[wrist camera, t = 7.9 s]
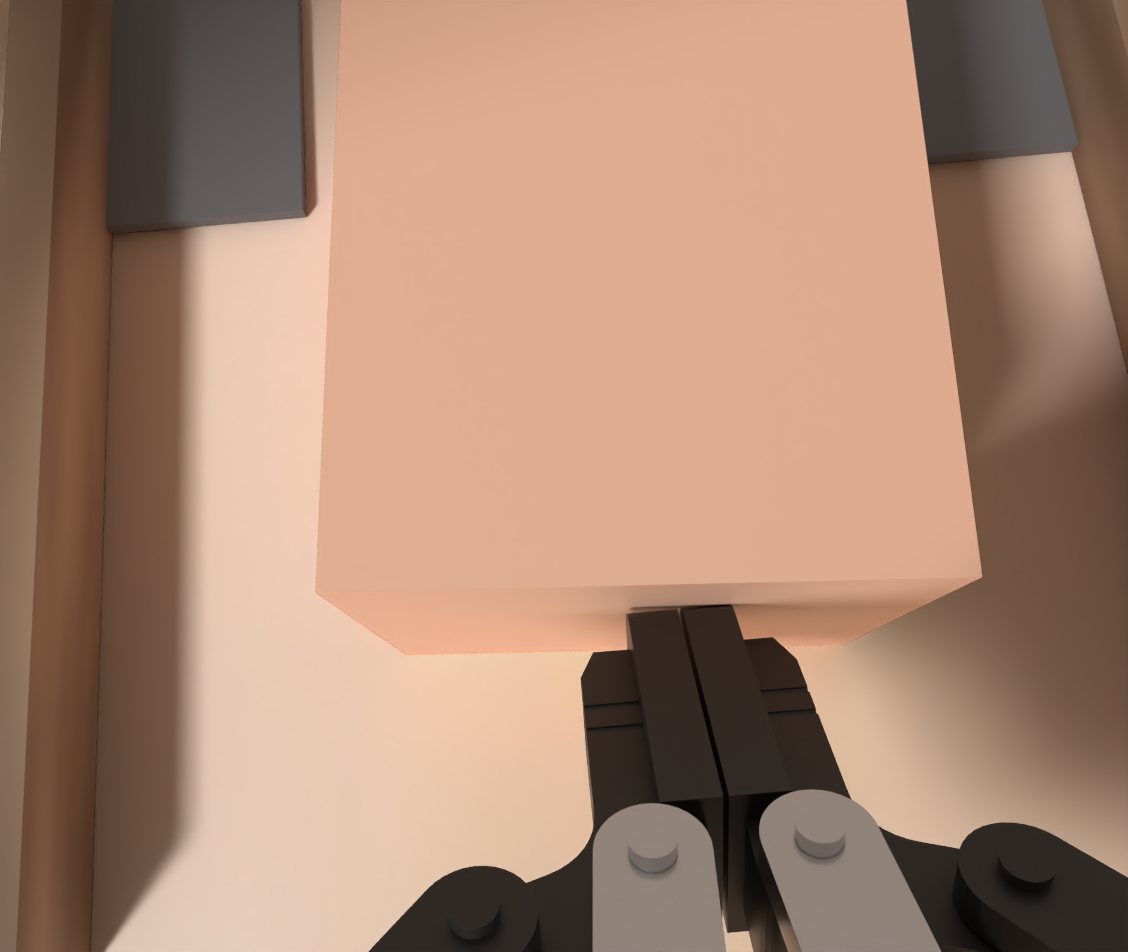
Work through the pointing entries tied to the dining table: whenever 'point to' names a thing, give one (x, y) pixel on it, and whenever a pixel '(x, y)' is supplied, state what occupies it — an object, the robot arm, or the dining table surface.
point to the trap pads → (276, 121)
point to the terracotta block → (634, 325)
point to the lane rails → (79, 412)
